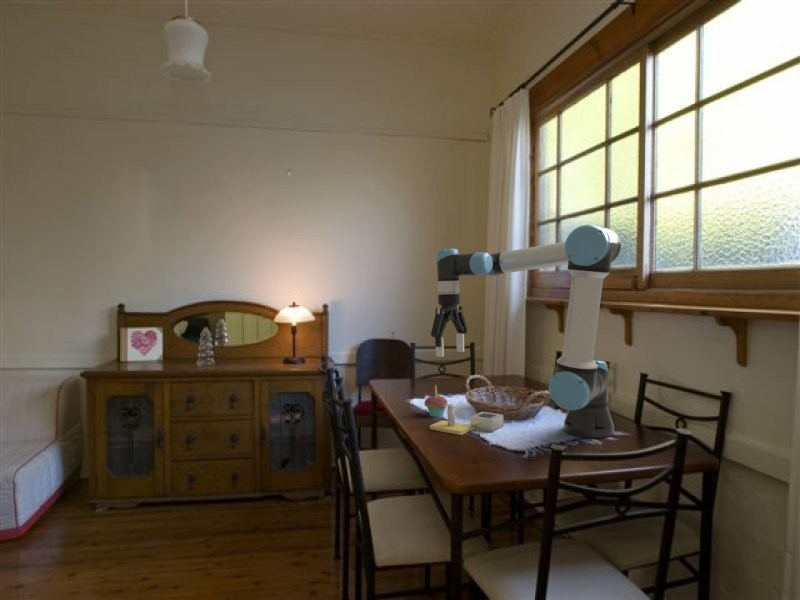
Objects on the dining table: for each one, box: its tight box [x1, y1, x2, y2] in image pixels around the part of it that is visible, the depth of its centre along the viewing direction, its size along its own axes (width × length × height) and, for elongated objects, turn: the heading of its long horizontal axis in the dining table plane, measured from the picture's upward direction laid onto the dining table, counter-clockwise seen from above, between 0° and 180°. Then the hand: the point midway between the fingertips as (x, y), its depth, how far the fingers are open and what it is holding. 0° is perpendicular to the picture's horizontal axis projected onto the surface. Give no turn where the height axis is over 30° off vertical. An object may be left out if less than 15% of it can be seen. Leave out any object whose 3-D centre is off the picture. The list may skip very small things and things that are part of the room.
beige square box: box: [470, 411, 504, 433], centre depth 168 cm, size 8×8×4 cm
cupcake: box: [423, 384, 449, 418], centre depth 185 cm, size 9×8×12 cm
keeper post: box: [429, 403, 474, 436], centre depth 167 cm, size 12×8×8 cm, turn 52°
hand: (450, 354), depth 177 cm, fingers open, 13 cm apart
